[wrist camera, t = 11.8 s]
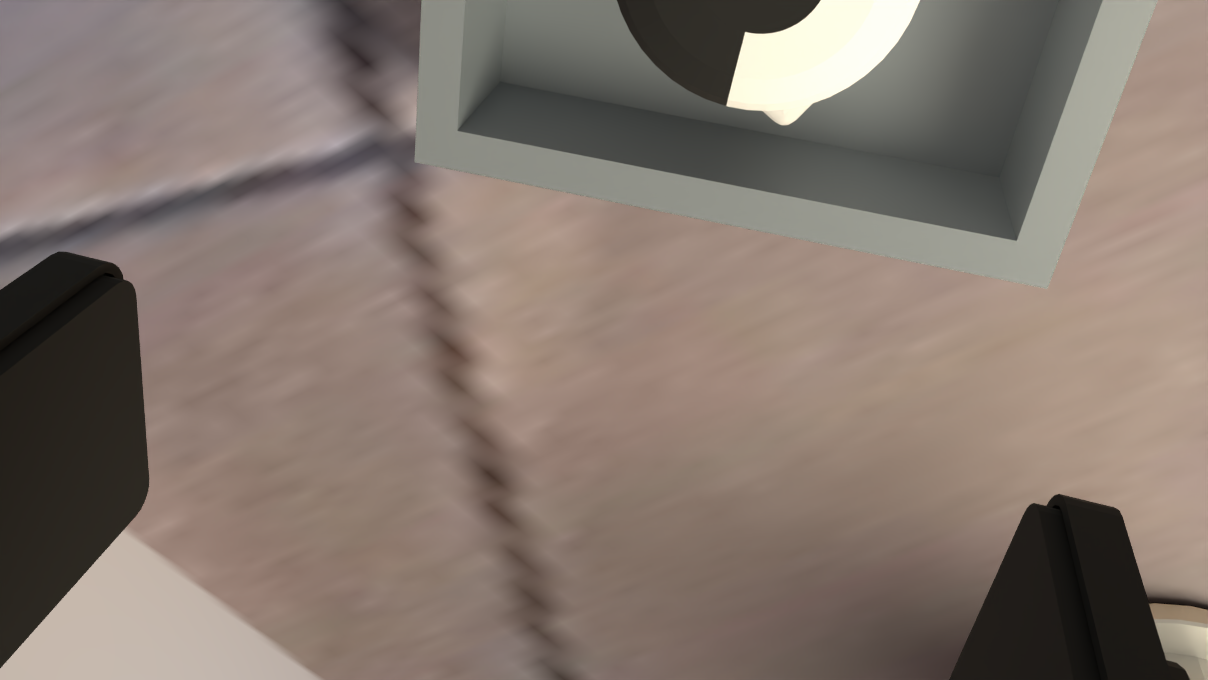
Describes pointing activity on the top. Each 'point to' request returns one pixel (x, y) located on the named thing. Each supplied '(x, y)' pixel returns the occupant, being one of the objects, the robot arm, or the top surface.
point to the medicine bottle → (767, 47)
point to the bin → (799, 126)
